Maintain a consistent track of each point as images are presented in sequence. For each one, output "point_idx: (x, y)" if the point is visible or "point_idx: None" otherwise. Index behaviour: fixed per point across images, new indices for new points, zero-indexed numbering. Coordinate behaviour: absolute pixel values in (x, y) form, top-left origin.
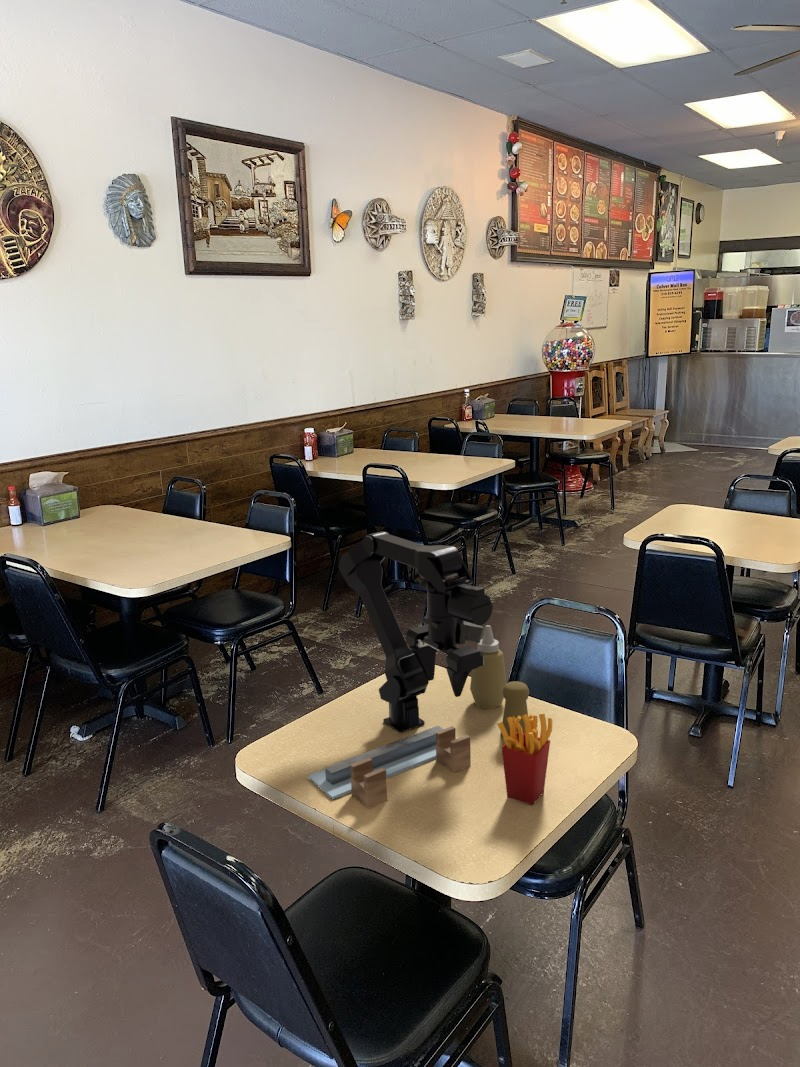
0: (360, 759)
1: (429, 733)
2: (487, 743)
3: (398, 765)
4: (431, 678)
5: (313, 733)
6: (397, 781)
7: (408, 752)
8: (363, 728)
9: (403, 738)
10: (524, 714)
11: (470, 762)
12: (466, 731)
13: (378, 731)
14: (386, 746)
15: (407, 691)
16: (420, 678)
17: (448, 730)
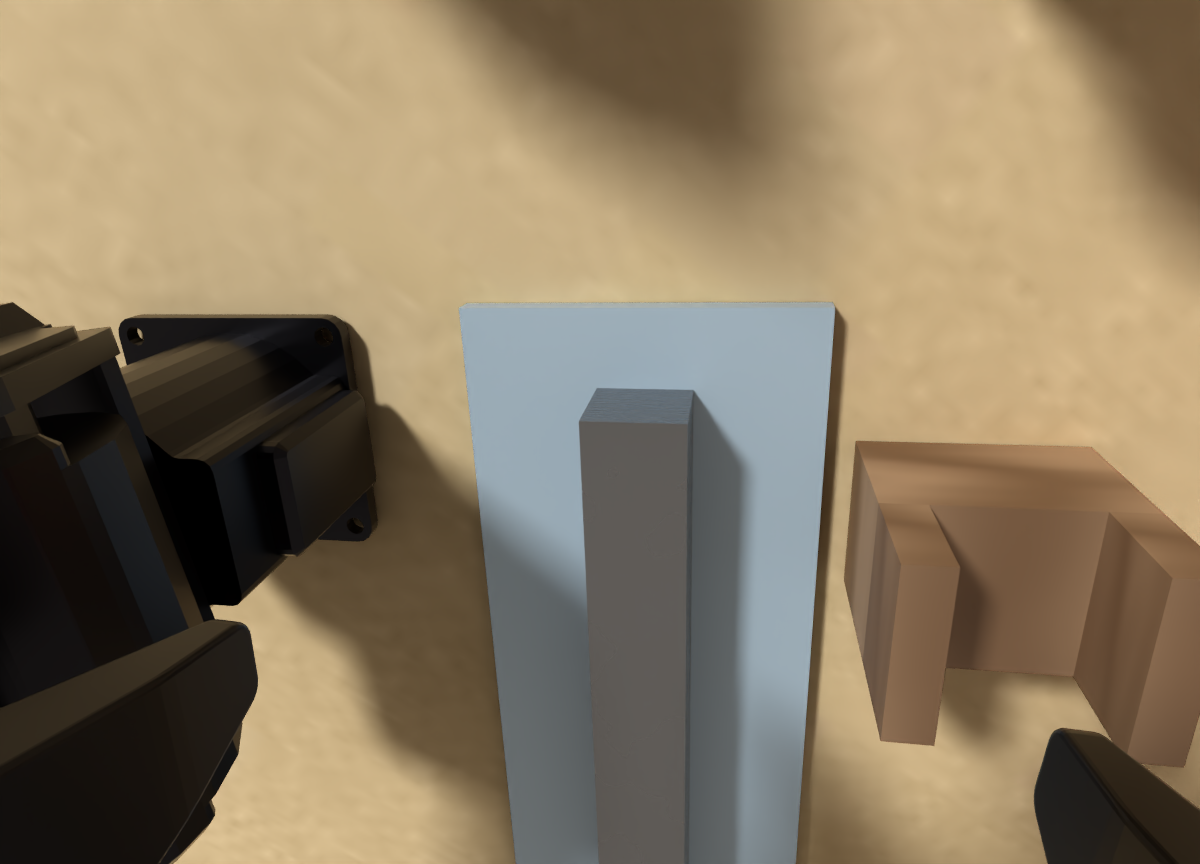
0: None
1: (648, 554)
2: (932, 85)
3: (751, 796)
4: (235, 673)
5: None
6: (863, 858)
7: (689, 708)
8: None
9: (593, 728)
10: None
11: (1103, 459)
12: (632, 103)
13: (286, 608)
14: (617, 854)
15: (231, 761)
16: (77, 641)
17: (945, 644)
